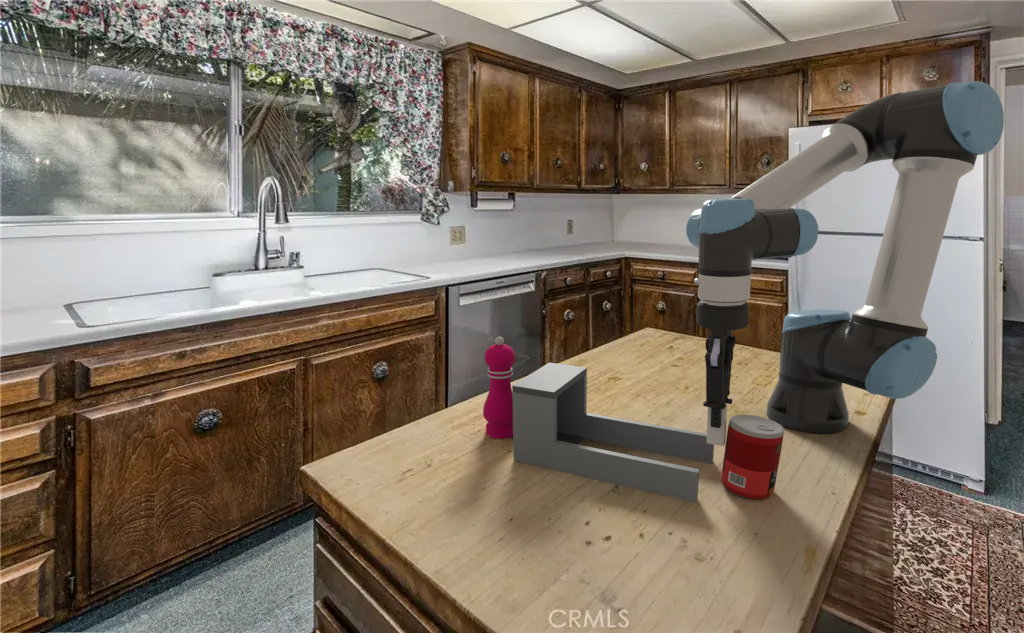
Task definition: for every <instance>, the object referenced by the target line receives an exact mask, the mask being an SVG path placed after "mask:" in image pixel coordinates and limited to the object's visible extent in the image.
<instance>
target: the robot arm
mask: <svg viewBox="0 0 1024 633" xmlns="http://www.w3.org/2000/svg"><path fill="white" fill-rule="evenodd" d="M1004 114H1005V113H1004V108H1003V103H1002V102H1001V99H1000V96H999V94H998V93H997V91H996V90H995V89H994V87H993V86H991V85H990V84H988V83H986V82H982V81H979V80H976V81H975V80H974V81H965V82H956V81H955V82H951V83H949V84H946V85H939V86H933V87H927V88H922V89H916V90H910V91H905V92H896V93H893V94H888V95H885V96H882V97H880V98H878V99H875V100H873V101H871V102H869V103H867V104H865V105H864V106H862V107H860V108H857V109H855V110H854V111H852V112H851V113H849V114H847V115H846V116H845V117H842V118H841V119H840V120H838V121H837V122H835V123H833V124H832V125H830V126H828V127H827V128H826V129H825V130H824V131H823V132H822V134H821V137H820V139H819V140H817V141H816V142H814V143H812V144H811V145H809V146H808V147H805V149H803V150H802V151H800V152H799V153H797V154H796V155H794V156H792V157H790V159H788V160H787V161H785V162H783V163H782V164H781V165H779V166H777V167H776V168H774V169H773V170H772V171H770V172H768V173H767V174H765V175H763V176H761V177H760V178H758V179H757V180H756V181H754V182H753V183H751V184H749V185H747V186H746V187H745V188H743V189H742V190H741V191H739V192H737V193H736V194H735V195H733V196H731V197H730V198H720V199H719V198H717V199H715V198H713V199H708V200H706V201H704V202H703V204H702V206H701V208H698V209H696V210H694V211H693V212H692V213H691V214H690V216H689V217H688V219H687V221H686V226H685V227H686V229H685V231H686V236H687V239H688V242H689V243H691V245H692V246H694V247H696V248H698V268H697V270H698V277H697V278H695V279H694V280H693V282H694V284H695V285H698V287H697V297H698V299H700V300H699V301H698V302H697V303H696V317H695V318H696V320H695V321H696V324H697V326H699V327H701V328H703V329H708V330H709V331H710V334H708V338H707V337H706V339H705V350H706V352H705V355H704V359H705V374H706V375H705V395H706V397H705V400H704V402H703V403H702V406H703V407H706V408H707V425H706V428H707V429H706V434H707V443H708V444H714V446H721V447H724V446H726V439H727V418H728V417H727V416H728V405H732V404H733V399H732V398H729V396H730V394H731V391H730V386H731V375H732V364H733V363H732V362H733V360H734V348H735V346H736V340H737V338H736V336H734V335H733V331H739V330H743V329H745V328H747V326H748V324H749V308H750V305H749V304H748V302H747V301H748V300H750V299H751V283H752V282H751V280H752V263H753V262H752V261H757V260H764V259H777V258H787V259H790V258H792V257H797V256H801V255H804V254H807V253H808V252H810V251H811V250H812V249H814V246H815V245H816V243H817V241H818V237H819V224H818V221H817V219H816V217H815V216H814V215H813V214H812V213H811V212H810V211H809V210H806V209H804V208H794V206H795V205H796V204H798V203H799V202H801V201H803V200H804V199H806V198H808V197H809V196H810V195H812V194H813V193H814V192H816V191H818V190H819V189H820V188H822V187H824V186H825V185H826V184H828V183H829V182H831V181H833V180H834V179H836V178H837V177H838V176H839V175H842V174H843V173H844V172H845V173H848V172H855V171H857V170H858V169H860V168H861V167H863V166H864V165H868V164H870V163H873V162H879V161H880V162H881V161H886V160H888V161H889V160H892V162H891V165H892V166H893V167H894V169H895V170H896V171H897V172H898V178H897V182H896V187H895V190H894V193H893V197H892V201H891V205H890V208H889V212H888V216H887V220H886V224H885V227H884V231H883V235H882V239H881V242H880V246H879V250H878V254H877V256H876V261H875V266H874V267H873V268H874V269H873V272H872V275H871V276H872V277H871V280H870V284H869V287H868V291H867V295H866V300H865V302H864V305H863V306H862V307H860V308H859V309H857V310H856V311H853V312H852V314H850V312H848V311H847V310H841V309H840V310H839V309H807V310H806V309H804V310H796V311H795V310H794V311H792V312H791V311H790V312H789V313H787V315H786V316H785V317H784V319H783V326H782V330H781V340H780V354H779V357H780V358H779V369H778V370H779V373H778V381H777V383H776V385H775V386H774V388H773V391H772V393H771V395H770V398H769V399H768V402H767V406H766V415H767V417H768V419H770V420H772V421H775V422H776V423H778V424H780V425H781V426H782V427H785V428H788V429H792V430H796V431H800V432H806V433H814V434H831V433H832V434H833V433H838V432H839V433H840V432H842V431H844V430H846V429H847V428H848V426H849V420H850V419H849V418H850V413H849V410H848V406H847V402H846V399H845V395H844V391H843V384H845V385H847V386H850V387H854V388H857V389H860V390H863V391H866V392H868V393H869V394H871V395H874V396H875V395H878V396H880V397H881V396H882V397H884V398H885V397H886V398H889V399H893V400H894V399H895V400H897V399H899V400H900V399H905V398H907V397H908V398H909V397H910V396H912V395H913V394H916V393H917V391H919V390H921V389H922V388H923V387H924V386H925V385H926V383H927V382H928V381H929V380H930V378H931V376H932V375H933V372H934V370H935V367H936V364H937V362H938V361H937V360H938V353H937V347H936V344H935V343H934V342H933V341H932V340H931V339H929V338H928V337H927V334H928V330H929V326H928V325H927V324H926V322H925V321H924V320H923V318H922V312H923V309H924V305H925V303H926V299H927V295H928V292H929V288H930V284H931V281H932V277H933V273H934V271H935V270H934V269H935V266H936V263H937V260H938V255H939V251H940V248H941V244H942V241H943V238H944V233H945V230H946V226H947V223H948V219H949V216H950V213H951V210H952V209H951V208H952V206H953V202H954V198H955V195H956V192H957V188H958V184H959V182H960V179H961V178H962V177H963V176H965V175H966V174H968V173H970V172H972V171H973V170H974V167H975V164H976V160H977V159H978V158H977V157H978V156H982V155H985V154H987V153H989V152H992V150H993V149H994V148H995V147H996V146H997V145H998V144H999V141H1001V137H1002V135H1003V132H1004V131H1003V130H1004V122H1005V115H1004ZM850 315H851V316H850ZM727 404H728V405H727Z"/></svg>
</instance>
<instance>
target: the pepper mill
mask: <svg viewBox="0 0 1024 633" xmlns="http://www.w3.org/2000/svg"><path fill="white" fill-rule="evenodd" d="M504 342H505V339H504V337H502V336H497V337H496V338H495V339H494V344H492V345H490V346H489V347H488V348H486V350H485V352H484V362H485V364H486V365H487V366H488V368H487V369H486V370H487V376H488V378H489V390H488V394H487V395H486V396H487V397H486V399H485V401H484V404H483V410H482V412H483V413H482V415H483V418H484V419H485V421H486V422H487V423H486V424H485V433H486V435H487V436H488V437H490V438H492V439H501V440H502V439H508V438H511V437H512V438H513V394H512V383H511V382H512V378H511V377H512V376H513V375H514V373H513V370H514V368H513V367H512V366H513V365H514V364H515V360H516V355H515V354H516V353H515V351H514V349H513V348H512V347H511V346H509V345H508V344H505V343H504Z"/></svg>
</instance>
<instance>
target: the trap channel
mask: <svg viewBox="0 0 1024 633" xmlns="http://www.w3.org/2000/svg"><path fill="white" fill-rule="evenodd" d="M587 379H588V367H585V366H579V365H578V366H577V365H571V364H570V365H569V364H562V363H555V362H548V363H546V364H545V365H543V366H541V367H540V368H538V369H536V370H535V371H533V372H531V373H530V374H529V375H527V376H526V377H524V378H522V379H520V380H519V381H517V382H516V383H514V384H513V385H511V389H512V394H513V436H512V438H513V443H512V444H513V461H515V462H520V463H524V464H527V465H533V466H537V467H542V468H545V469H550V470H554V471H559V472H563V473H568V474H571V475H576V476H580V477H585V478H590V479H592V480H593V479H594V480H597V481H601V482H606V483H611V484H613V485H615V484H616V485H619V486H624V487H628V488H632V489H636V490H640V491H645V492H649V493H654V494H657V495H662V496H666V497H670V498H675V499H679V500H683V501H684V500H685V501H689V502H692V503H697V501H698V498H699V484H700V483H699V482H700V481H699V480H700V469H699V468H695V467H691V466H690V467H689V466H684V465H679V464H674V463H669V462H664V461H661V460H655V459H650V458H646V457H645V458H644V457H641V456H636V455H635V456H634V455H631V454H627V453H621V452H616V451H611V450H606V449H601V448H596V447H592V446H587V445H582V444H581V442H582V441H584V440H588V441H594V442H598V443H603V444H609V445H614V446H619V447H624V448H628V449H635V450H639V451H643V452H649V453H654V454H660V455H664V456H670V457H675V458H678V459H679V458H680V459H685V460H689V461H695V462H700V463H705V464H710V465H712V464H713V463H714V455H715V454H714V453H715V452H714V451H715V445H714V444H708V443H707V432H700V431H694V430H687V429H682V428H676V427H670V426H665V425H660V424H654V423H647V422H641V421H635V420H629V419H626V418H619V417H614V416H607V415H602V414H597V413H591V412H587V399H588V398H587V397H588V396H587V393H588V392H587V389H588V388H587V387H588V386H587V385H588V380H587Z"/></svg>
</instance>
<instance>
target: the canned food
mask: <svg viewBox="0 0 1024 633" xmlns="http://www.w3.org/2000/svg"><path fill="white" fill-rule="evenodd" d="M784 429H785V428H784V426H782V425H780V424H778V423H776V422H775V421H772V420H771V419H770V418H766V417H763V416H759V415H753V414H737V415H733V416H731V417H730V418H729V421H728V427H727V430H726V441H725V445H724V446H725V447H724V454H723V455H724V456H723V461H722V462H723V463H722V467H721V468H722V470H721V483H722V484H723V486H724V488H725V489H726V490H727V491H729V492H731V493H733V494H734V495H736V496H740V497H742V498H747V499H751V500H764V499H767V498H770V497H771V496H772V494H774V491H775V488H776V481H777V477H778V476H777V475H778V469H779V464H780V459H781V454H782V449H783V441H784V435H785V433H784V432H785V430H784Z"/></svg>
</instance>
